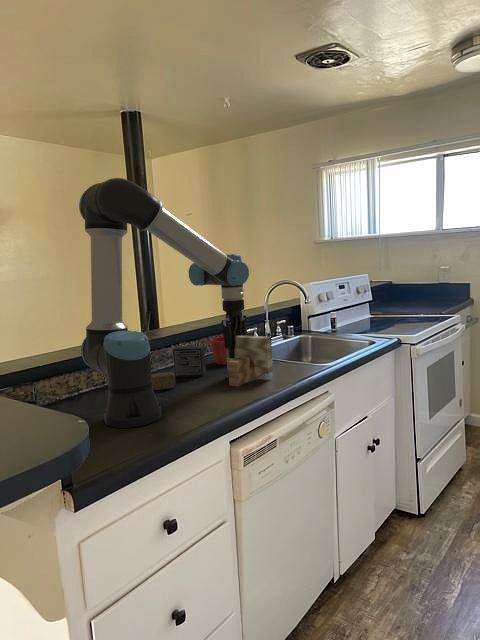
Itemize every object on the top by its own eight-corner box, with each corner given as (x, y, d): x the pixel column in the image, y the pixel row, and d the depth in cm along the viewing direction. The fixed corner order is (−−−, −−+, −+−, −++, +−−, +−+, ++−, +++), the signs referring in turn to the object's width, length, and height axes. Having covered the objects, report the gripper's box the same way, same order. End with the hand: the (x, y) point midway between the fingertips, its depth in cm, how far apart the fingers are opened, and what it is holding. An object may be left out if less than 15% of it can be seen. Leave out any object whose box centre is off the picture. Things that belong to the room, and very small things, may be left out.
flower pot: (213, 360, 200) (211, 336, 198) (239, 358, 199) (238, 335, 198) (210, 366, 189) (208, 341, 188) (238, 364, 189) (237, 340, 187)
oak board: (238, 386, 158) (237, 362, 157) (229, 385, 160) (227, 361, 159) (268, 370, 177) (267, 349, 176) (260, 369, 179) (259, 348, 178)
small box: (206, 372, 180) (204, 344, 178) (203, 376, 173) (201, 347, 172) (178, 373, 181) (176, 345, 180) (174, 377, 175) (172, 349, 173)
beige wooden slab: (272, 371, 166) (271, 336, 164) (268, 373, 163) (266, 338, 161) (232, 368, 174) (230, 335, 172) (227, 370, 171) (225, 336, 169)
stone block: (176, 389, 160) (175, 374, 159) (141, 393, 157) (139, 378, 157) (175, 384, 166) (173, 370, 165) (140, 388, 163) (139, 374, 162)
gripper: (229, 302, 158) (234, 372, 161) (253, 296, 172) (257, 361, 176) (210, 302, 162) (215, 370, 165) (235, 296, 176) (239, 359, 179)
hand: (237, 365), depth 170 cm, fingers closed on beige wooden slab, 3 cm apart
